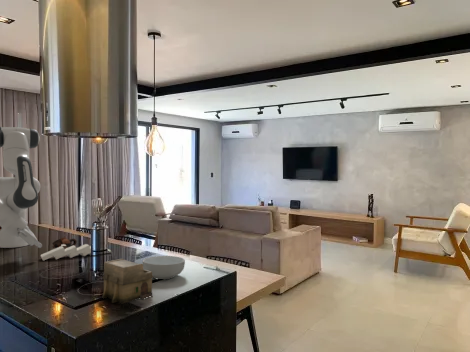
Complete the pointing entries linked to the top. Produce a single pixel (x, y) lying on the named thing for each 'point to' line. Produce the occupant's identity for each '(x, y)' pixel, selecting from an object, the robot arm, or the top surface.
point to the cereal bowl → (164, 266)
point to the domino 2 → (66, 252)
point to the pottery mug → (64, 242)
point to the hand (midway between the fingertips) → (40, 246)
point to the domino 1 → (52, 253)
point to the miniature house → (126, 281)
